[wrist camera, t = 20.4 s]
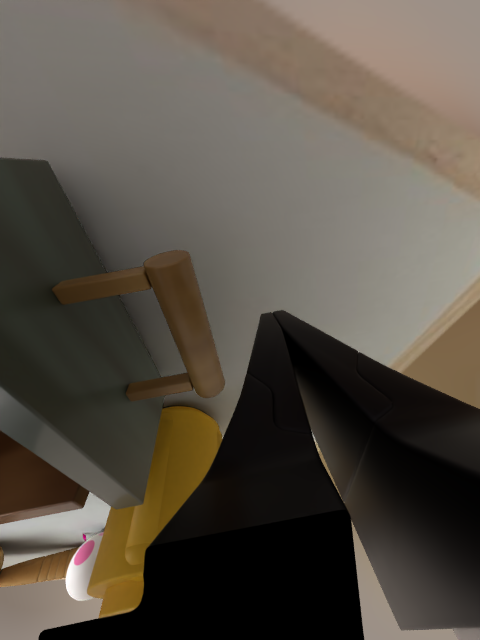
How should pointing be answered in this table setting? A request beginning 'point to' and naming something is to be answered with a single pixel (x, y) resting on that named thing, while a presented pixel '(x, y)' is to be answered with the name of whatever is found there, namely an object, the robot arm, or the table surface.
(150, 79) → the table surface
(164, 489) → the yellow pepper
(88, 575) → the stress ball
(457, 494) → the robot arm
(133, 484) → the drawer
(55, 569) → the kendama
